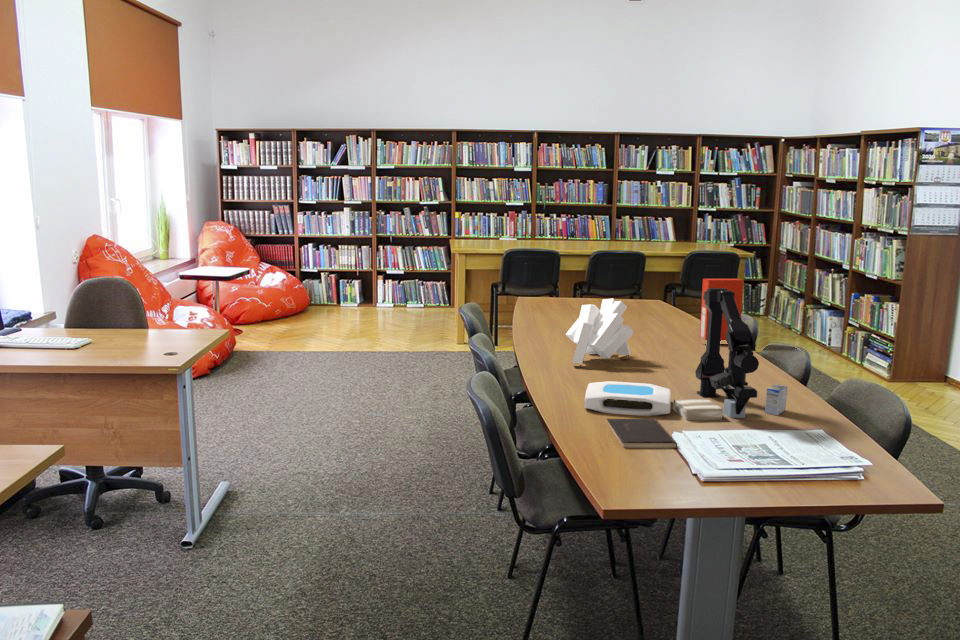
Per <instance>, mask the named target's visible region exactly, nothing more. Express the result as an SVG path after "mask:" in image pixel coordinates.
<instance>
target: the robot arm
mask: <svg viewBox="0 0 960 640" xmlns="http://www.w3.org/2000/svg"><path fill="white" fill-rule="evenodd" d="M734 298H735V295H734V292H733V291H727V289H726V288H708V289H707V291H705V292H704V300H705V305H706V307H707V309H708V311H709V318H708V332H707V345H705V347H706V348H705V352H704V353H703V354H702V355H701V357H700V362H699V364H698V366H697V368H696V370H695V378H697V379H698V380H700V386H699V387H700V388H699V390H697V391H695V392H697V393H696V394H698V393H699V394H700V395H699V394H698V395H699V396H701V397H702V396H703V398H711V397H714V398H715V397H716V398H717V397H718V396H719V397H721V394H719V393H717V390H721V391H722V392H723V393H724V394H725V399H735V406H736V414H740V413H741V411H742V410H743V408H744V406H745V407H746V405H747V403H748V402H749V400H750V399H753V398H758V390H757V389H756V388H754V387H752V386H750V385H749V386H748V384H749V382H748V381H746V379H747V378H746V377H747V374H751V373H754V372H756V371H757V370H758V368H759V365H760V362H759V359H758V357H756V356H755V355H754V352H756V351H757V350H756V347H757V344H756V342H755V338H754V334H753V332H752V331H751V329H750V327H749V325H748V324H747V323H746V322H744V321H743V320H742V315H741V316H740V314H739V311H738V308H737V305H736V302H735V299H734ZM723 314H724V317H725V320H726V323H727V326H728V330H727V332H726V341H727V343H728V345H727V347H728V348H727V349H728V350H729V351H728V364H727V365H728V366H727V367H726V366H725V359H724V358H723V357H722V355H721V353H720V351H721V345H720V341H721V328H722V316H723Z"/></svg>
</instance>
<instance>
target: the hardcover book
mask: <svg viewBox="0 0 960 640" xmlns="http://www.w3.org/2000/svg"><path fill="white" fill-rule="evenodd" d="M606 420H607V422H608V423H607V424H608V426H609V427H610V429H611V430H612V433H613V434H614V436H615V437H616V439H617V440H618V442H619V443H620V445H621V446H622V447H623V448H629V449H630V448H636V449H637V448H643V449H645V448H656V449H657V448H662V449H663V448H678V442H677V441H676V440H675V439H674V438H673V436H671V435H670V433H669V432H668V431H667V430H666V429H665V428H664V427H663V425H662V424H661V423H660V421H658V420H657V419H656V418H606Z"/></svg>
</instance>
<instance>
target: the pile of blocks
mask: <svg viewBox="0 0 960 640" xmlns="http://www.w3.org/2000/svg"><path fill="white" fill-rule="evenodd" d="M600 305H601V306H600V309H599V307H597V305H596V304H592V303H590V304H582V305H581V308H580V311H579V317H578V318H577V319H576V320H575V322H574V323H572V326H571V327H570V328H569V329H568V331H567V332H566V333H565V336H566V337H567V338H568V339H570V341H573V343H574V344H576V348H575V352H574V354H573V358H572V361H571V363H572V362H573V363H580V364H582V362H583V363H584V360H585V357H586V354H587V353H589V354H598V355H599V357H600V358H601V359H602V358H604V359H605V360H609V359H610V358H611V357H612V356H614V354H615V353H616V355H617V354H619V355H627V357H629V356H628V355H630V354H631V350H630V346H629V343H628V340H629V339H630V338H631V336H632V335H634V334H635V332H634V330H633V328H632V327H631V326H630V325H623V322H624V321H625V319H624V318H623V317H622V315H623V314H624V312H625V311H626V310H627V308H628V305H626V304H625V303H624V302H623V301H622V300H617V301H616V300H615V299H614V298H613V297H612V298H605V299H602V301H601V304H600ZM589 354H588V355H589ZM631 355H632V354H631ZM631 355H630V356H631ZM582 365H583V364H582Z"/></svg>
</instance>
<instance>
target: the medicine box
mask: <svg viewBox="0 0 960 640" xmlns="http://www.w3.org/2000/svg"><path fill="white" fill-rule="evenodd" d="M787 395H788V386H787V385H782V384H776V383H775V384H772V385H771V386H769V387H768V388H766V394H765V407H764V408H765V410H764V413H765V414H768V415H773V414H774V415H773V416H779V415H780V414H782V413H783V412H785V411H786V407H787V398H788V397H787Z"/></svg>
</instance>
